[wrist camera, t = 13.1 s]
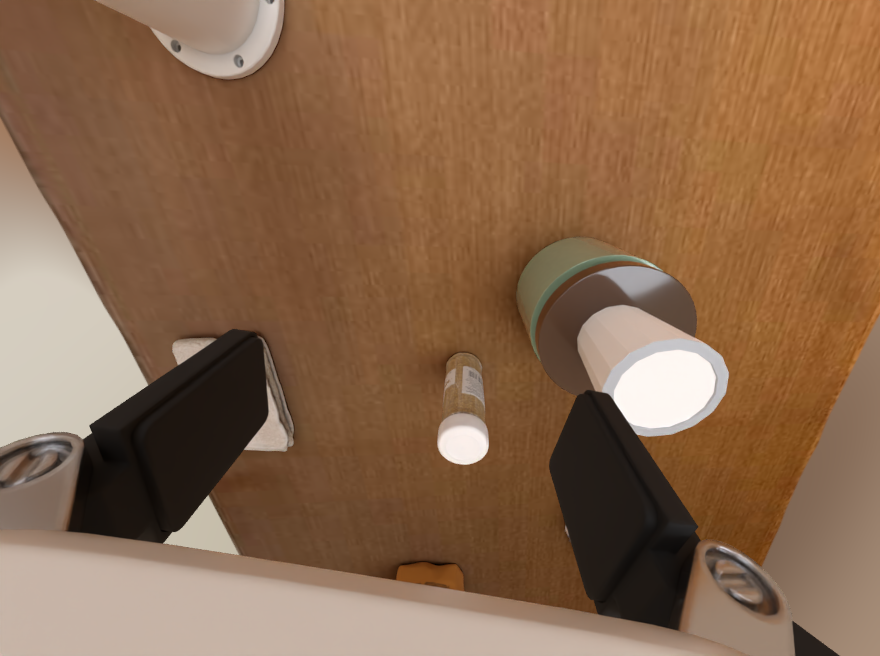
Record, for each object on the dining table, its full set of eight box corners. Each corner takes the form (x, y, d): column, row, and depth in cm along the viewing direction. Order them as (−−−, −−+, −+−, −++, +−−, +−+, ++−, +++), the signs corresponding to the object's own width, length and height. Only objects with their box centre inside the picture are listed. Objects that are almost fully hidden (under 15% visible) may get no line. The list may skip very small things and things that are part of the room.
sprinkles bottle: (439, 359, 40) (427, 436, 28) (473, 345, 39) (476, 420, 27) (455, 387, 42) (450, 472, 30) (488, 375, 41) (497, 458, 29)
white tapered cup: (576, 295, 24) (615, 337, 18) (674, 297, 24) (750, 341, 17) (562, 375, 27) (592, 435, 21) (649, 378, 26) (707, 440, 20)
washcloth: (227, 441, 49) (212, 457, 46) (178, 334, 42) (157, 345, 39) (302, 441, 48) (291, 457, 45) (265, 330, 41) (250, 342, 38)
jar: (505, 256, 35) (521, 289, 24) (624, 220, 32) (699, 240, 22) (528, 352, 39) (550, 414, 29) (634, 327, 37) (701, 385, 26)
